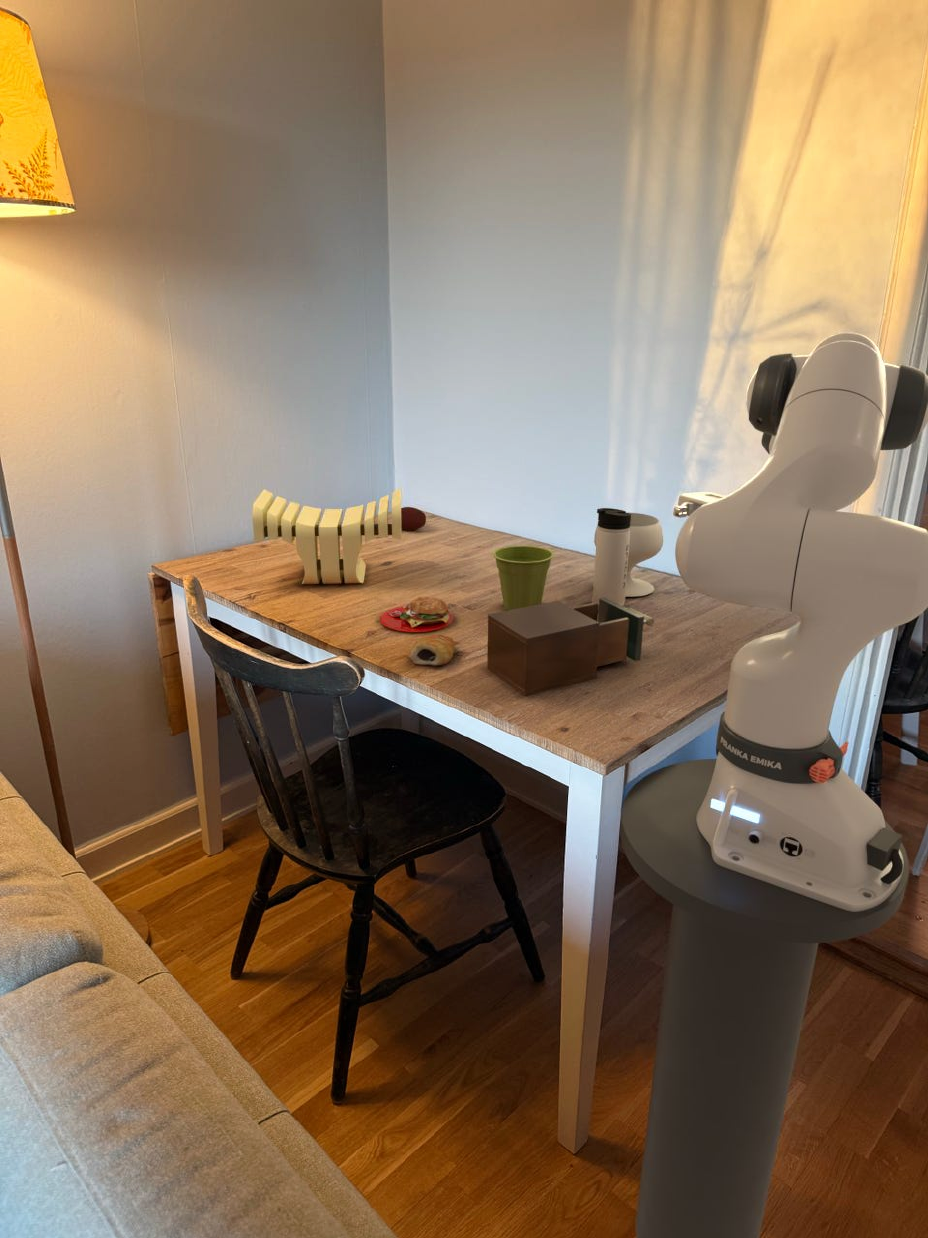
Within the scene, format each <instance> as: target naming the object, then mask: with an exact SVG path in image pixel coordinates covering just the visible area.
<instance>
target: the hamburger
mask: <svg viewBox="0 0 928 1238" xmlns="http://www.w3.org/2000/svg"><path fill="white" fill-rule="evenodd" d="M454 617H455V616H454V615H453V614H452V612H450V611H449V606H448V605H447V603H446V602H445V601H444V600H443V599H440V598H436V597H431V596H418V597H416V598H414V599H413V600H411V601H410V602H409V603H408V604H406V605H402V606H396V607H393V608H391V609H388V610H386V611H384V612H383V613H382V614H381V615H380V616H379V622H380V623H381V624H382V625H383V626H384V627H386V628H389V629H391V630H395V631H399V632H409V633H421V632H431V631H435V630H440V629H443V628H445V627H447V626H449V625H450V624H452V622H453V621H454Z"/></svg>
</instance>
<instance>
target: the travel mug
mask: <svg viewBox="0 0 928 1238" xmlns="http://www.w3.org/2000/svg"><path fill="white" fill-rule="evenodd" d="M596 513H597V515H598V516H597V525H596V528H597V539H596V546H595V556H594V557H595V558H594V573H593V587H592V588H593V589H592V602H591V603H594V602H596V603H598V612H599V599H600V598H607V599H609V600H611V601H613V602H615V603H617V604H619V605H621V606H623V607H625V604H626V603H625V600H626V596H625V591H626V578H627V565H628V553H629V540H630V527H631V526H630V522H631V514H629V513H630V512H627V511H626V510H623V509H618V508H612V507H611V508H610V507H600V508H597V509H596Z"/></svg>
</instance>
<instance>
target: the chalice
mask: <svg viewBox="0 0 928 1238" xmlns="http://www.w3.org/2000/svg"><path fill="white" fill-rule="evenodd" d="M628 513H629V514H631V522H630V526H631V527H630V540H629V553H628V565H627V578H626V591H625V598H626V597H631V598H632V597H642V596H643V597H644V596H646V595H649V594H652V593H653V592H654V591H655V587H654V586H653V584H651V583H650V582H648V581H646V580H643V579H640V578H635V577H631V572H632V569H633V568H634V567H635V566H637V565H638V564H640V563H642V562H645V561H647V560H649V559H653V557H655V556H657V554H659V553H660V551H661V550H662V549H663V547H664V546H663V545H664V533H663V529H662V524H661V522H660V520H659V519H658V518H657V517H655V516H653V515H649V514H644V513H638V512H628ZM593 539H594V540H593V543H594V546H595V547H596V539H597V527H596V528H595V532H594V538H593Z"/></svg>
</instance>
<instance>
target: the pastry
mask: <svg viewBox="0 0 928 1238" xmlns="http://www.w3.org/2000/svg"><path fill="white" fill-rule="evenodd" d="M455 649H456V647H455V641H454V639H453V638H452V637H451V636H447V635H444V634H442V633H438V634H433V635H429V636H425V637H421V638H420V639H419V640H418V641H416V642H415V643H414V644H413V645H412V649H411V653H409V659H410V660H411V661H412V663H413V664H415V665H421V666H434V667H435V666H443V665H445V664H448V663H449V662H450V661H451V660H452V658H453V656H454V653H455Z"/></svg>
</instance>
